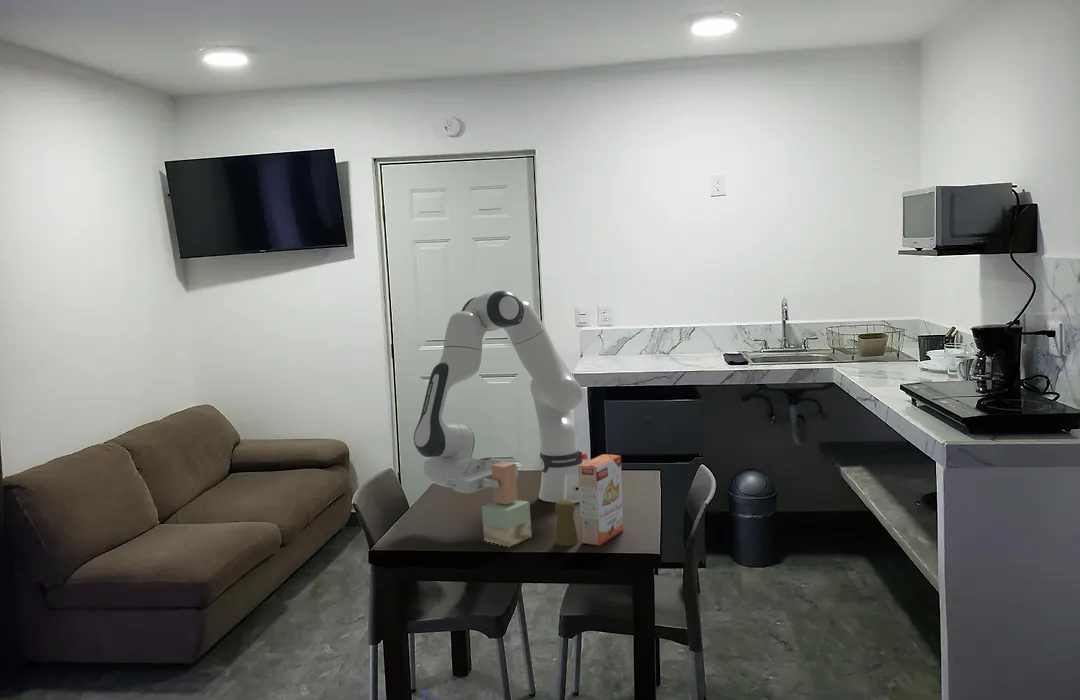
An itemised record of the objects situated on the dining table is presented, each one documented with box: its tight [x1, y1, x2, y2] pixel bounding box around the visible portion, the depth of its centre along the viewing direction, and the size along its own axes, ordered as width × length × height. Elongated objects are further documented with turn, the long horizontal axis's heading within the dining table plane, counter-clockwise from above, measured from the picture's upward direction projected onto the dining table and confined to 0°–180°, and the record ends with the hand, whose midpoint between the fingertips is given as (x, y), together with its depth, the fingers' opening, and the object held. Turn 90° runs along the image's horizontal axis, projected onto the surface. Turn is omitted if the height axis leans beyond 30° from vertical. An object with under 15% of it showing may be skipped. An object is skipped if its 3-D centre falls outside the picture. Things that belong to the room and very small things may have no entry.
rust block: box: [491, 461, 519, 504], centre depth 224 cm, size 4×4×10 cm
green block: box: [481, 499, 531, 529], centre depth 224 cm, size 9×9×5 cm
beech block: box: [482, 519, 533, 548], centre depth 225 cm, size 9×9×5 cm
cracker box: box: [578, 454, 624, 547], centre depth 221 cm, size 14×6×21 cm, turn 148°
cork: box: [554, 500, 579, 547], centre depth 219 cm, size 6×6×11 cm
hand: (506, 481), depth 223 cm, fingers closed on rust block, 4 cm apart
